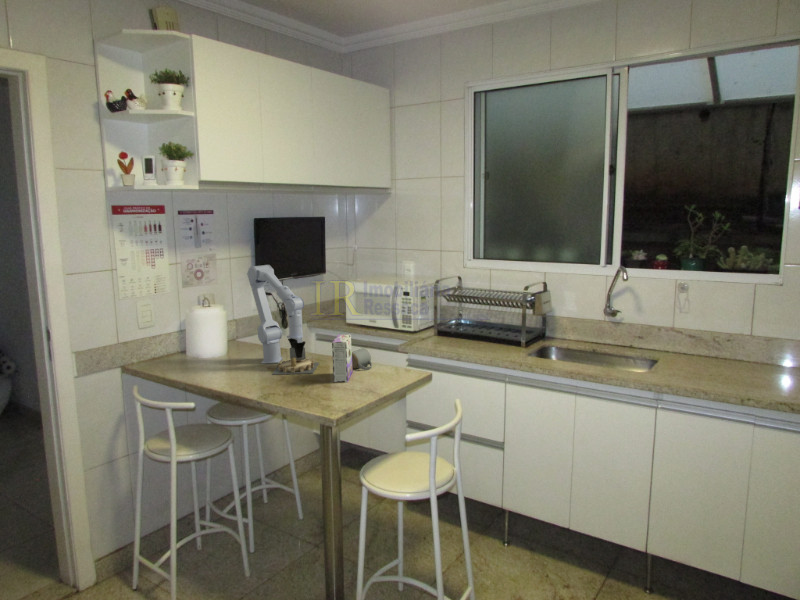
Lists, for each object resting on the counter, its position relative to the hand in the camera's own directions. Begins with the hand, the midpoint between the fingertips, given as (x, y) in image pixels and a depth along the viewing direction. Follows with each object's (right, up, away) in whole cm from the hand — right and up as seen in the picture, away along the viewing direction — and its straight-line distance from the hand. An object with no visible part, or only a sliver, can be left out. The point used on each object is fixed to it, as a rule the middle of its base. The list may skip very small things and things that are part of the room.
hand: (297, 355), depth 240 cm
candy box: (+22, -7, -18) cm, 29 cm away
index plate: (0, -5, -3) cm, 6 cm away
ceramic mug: (+28, -5, -3) cm, 29 cm away
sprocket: (0, -5, -3) cm, 6 cm away
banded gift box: (0, -1, 0) cm, 1 cm away
